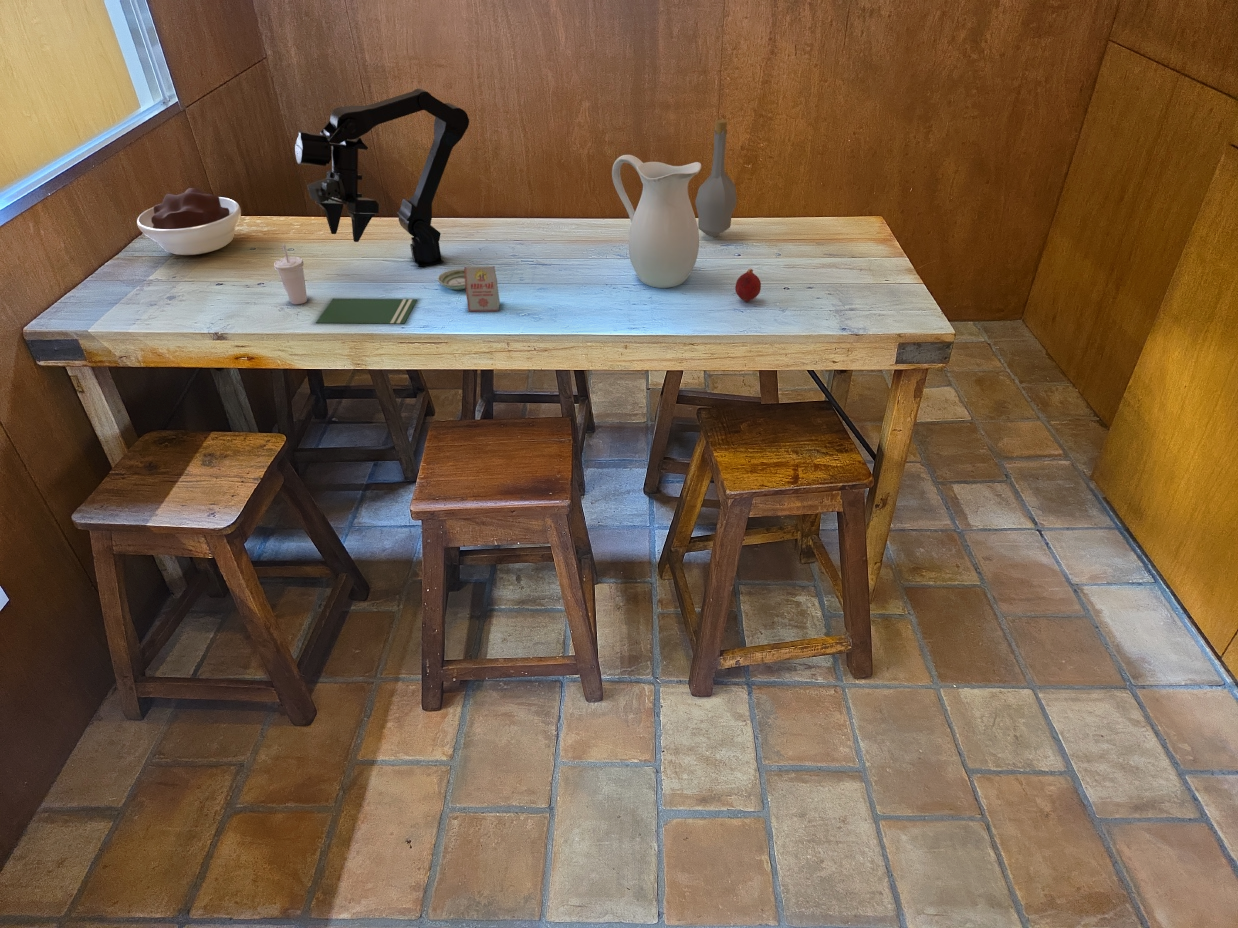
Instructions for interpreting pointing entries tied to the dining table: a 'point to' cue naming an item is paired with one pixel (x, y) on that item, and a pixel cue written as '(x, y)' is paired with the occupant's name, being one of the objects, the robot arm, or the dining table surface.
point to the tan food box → (481, 288)
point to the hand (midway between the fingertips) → (344, 238)
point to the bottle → (716, 190)
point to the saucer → (453, 279)
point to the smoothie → (292, 277)
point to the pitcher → (661, 222)
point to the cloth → (367, 311)
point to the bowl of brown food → (191, 222)
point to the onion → (748, 286)
